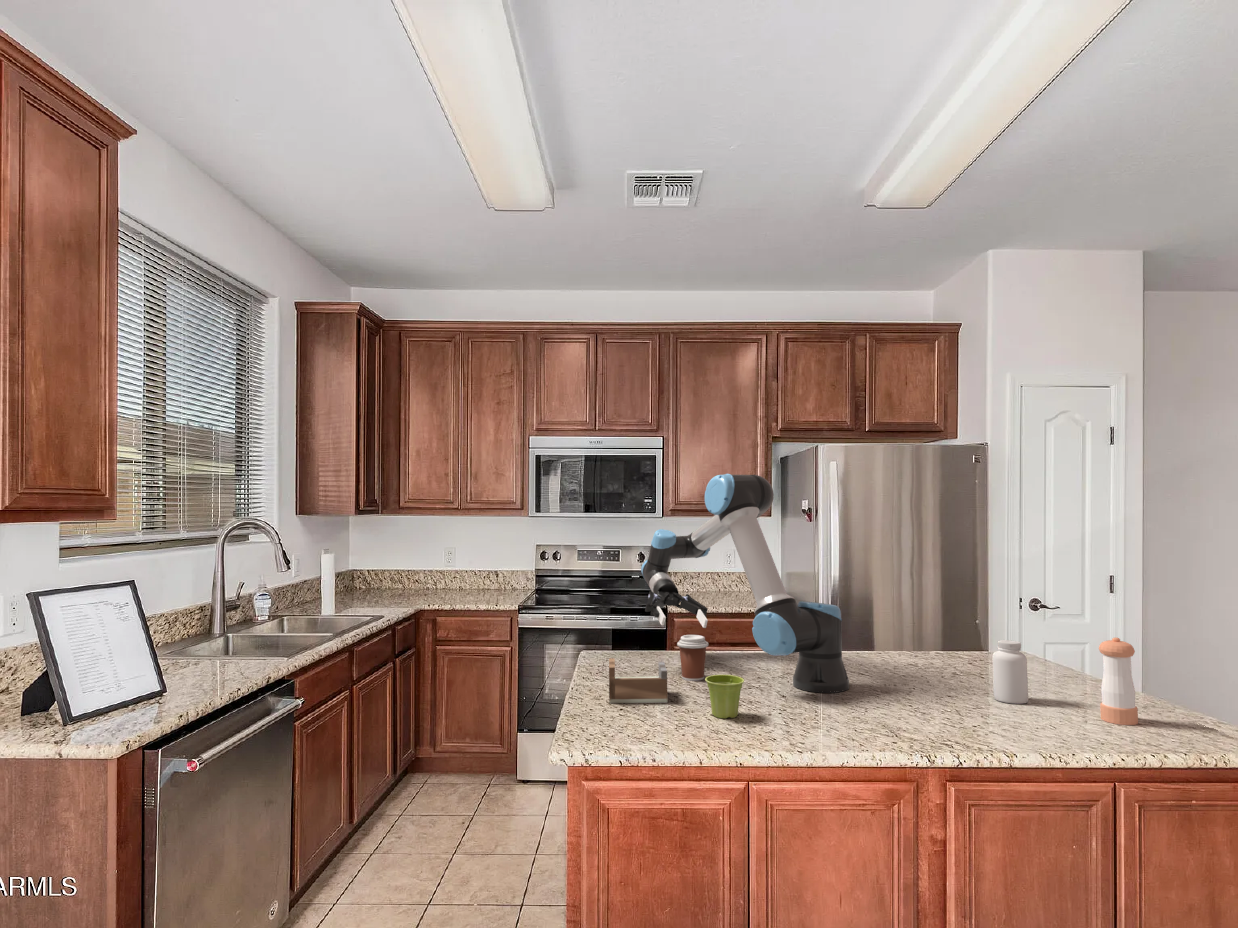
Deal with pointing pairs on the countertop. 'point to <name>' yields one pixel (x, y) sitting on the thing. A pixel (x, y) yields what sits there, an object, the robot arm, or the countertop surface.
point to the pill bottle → (1010, 673)
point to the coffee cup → (692, 657)
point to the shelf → (637, 687)
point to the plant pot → (724, 694)
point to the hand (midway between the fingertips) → (684, 622)
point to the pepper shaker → (1118, 683)
